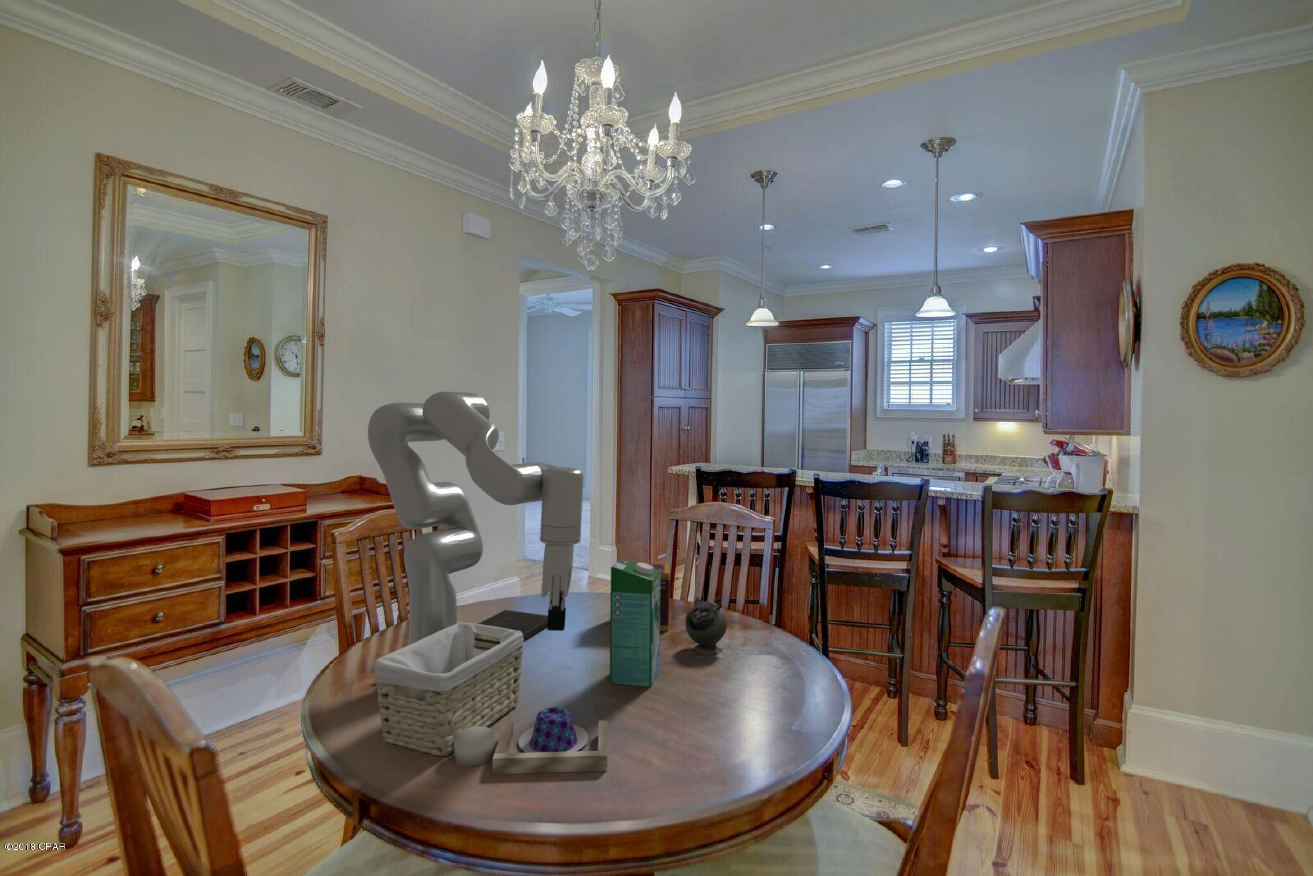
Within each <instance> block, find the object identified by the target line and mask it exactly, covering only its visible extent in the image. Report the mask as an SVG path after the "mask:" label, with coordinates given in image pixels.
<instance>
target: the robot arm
mask: <svg viewBox="0 0 1313 876" xmlns="http://www.w3.org/2000/svg"><path fill="white" fill-rule="evenodd" d="M490 416H491V412H490V408H489V404H488V403H487V401H486V400H485V399H484V398H483V397H482V396H480V395H478V394H476V393H474V392H465V391H461V392H459V391H439V392H435V393H433V394H431V395H430V396H429V397H427V398H426V400H425V401H424V403H423V402H392V403H391V402H390V403H387V404H383V405H382V406H379V407H378V408H377V409H375V410H374V411H373V413H372V414H371V416H370V419H369V421H368V426H367V427H368V428H367V438H368V439H367V440H368V443H369V447H370V451H371V453H372V455H373V457H374V459H375V461H376V463H377V464H378V466H379V469H380V471H381V472H382V474H383V478H384V480H385V484H386V487H387V489H388V492H389V495H390V499H391V501H392V505H393V508H394V509H395V513H396V516H397V518H398V520H399V523H400V524H401V525H402V526H403V527H404V528H406V529H409V530H421V529H427V528H432V527H437V526H439V528H440V530H434V531H431V532H429V531H428V532H425V533H422V534H419V535H417V536H415V537H414V538H413V539H411V540H410V541H408V542H407V545H406V547H405V549H404V553H403V563H404V568H405V572H406V576H407V577H406V578H407V583H408V604H409V605H408V612H409V613H408V616H409V617H408V619H409V624H408V626H409V630H408V631H409V633H408V635H409V636H408V638H409V639H408V640H409V641H408V645H410V644H413V643H415V642H417V641H419V640H421V639H424V638H426V637H428V636H430V635H432V634H434V633H436V632H438V631H441V630H443V629H445V628H448V627H450V626H453V625H455V624H457V623H458V621H457V618H458V615H457V614H458V613H457V611H458V605H457V603H458V602H457V600H458V599H457V592H456V590H455V587H454V585H453V583H452V582H451V579H450V577H449V575H450V574H453V573H457V572H460V571H463V570H467V569H470V568H472V567H474V566H476V565H477V564H478V563H479V562H480V561H481V558H482V556H483V552H484V544H483V539H482V536H481V532H480V530H479V527H478V524H477V521H476V518H475V515H474V512H473V510H472V507H471V504H470V501H469V498H468V497H467V495H466V493H465V492H464V490H463V489H462V488H461V487H460V486H458V485H457V484H456V483H453V482H450V481H439V482H432V480H431V479H430V477H429V474H428V472H427V469H426V468H427V467H426V465H425V464H424V461H423V460H422V459H421V457H420V456H419V454H418V453H417V452H416V451H415V450H414V449H412V448H411V447H410V445H408V444H409V443H410V442H411V443H412V442H413V443H414V442H419V443H420V442H437V441H439V442H440V441H444V440H445V441H447V443H449V444H450V445H451V446H453V448H455V450H457V451H458V452H460V453H461V454H462V455H463V456H464V457H465V464H466V465H465V466H466V470H467V471H468V472H467V473H468V474H469V477H470V479H471V480H472V481H473V483H474V484H475V485H476V486H477V487H478V488H480V489H481V491H483V492H484V494H486V495H487V496H489V497H491V498H492V499H493V500H495V501H496V503H497V502H498V503H499V504H502V505H505V506H517V505H521V504H526V503H527V504H528V503H534V502H541V512H540V513H541V515H540V518H541V519H540V533H539V534H540V535H539V536H540V537H539V541H540V542H541V543H543V544H544V551H543V563H542V577H541V578H542V579H541V589H540V590H541V592H540V596H541V597H542V598H545V597H547V596H548V595H549V597H548V599H549V600H548V602H549V604H548V605H549V606H548V609H547V616H548V623H547V628H546V629H547V630H548V631H557V632H559V631H563V632H564V631H565V629H566V628H565V627H566V616H567V615H566V612H567V607H566V598H567V597H568V595H569V590H570V587H571V581H572V575H573V574H572V572H573V564H574V562H573V561H574V551H575V549H574V548H575V547H574V545H577V544H579V543H580V542H581V536H582V533H581V532H582V514H583V513H582V512H583V495H584V493H583V492H584V474H583V472H582V470H580V469H578V468H574V467H569V466H568V467H567V466H555V465H552V464H550V463H545V462H527V463H526V462H524V463H514V464H509V463H508V462H507V461H505V460H504V459H503V458H501V456H499V455H498V454H497V453H496V452H495V451H494V449H495V448H496V446H497V444H498V442H499V438H500V433H499V432H500V431H499V429H498V427H497V426H496V425H495V424H494V423H492V421H490Z"/></svg>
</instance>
